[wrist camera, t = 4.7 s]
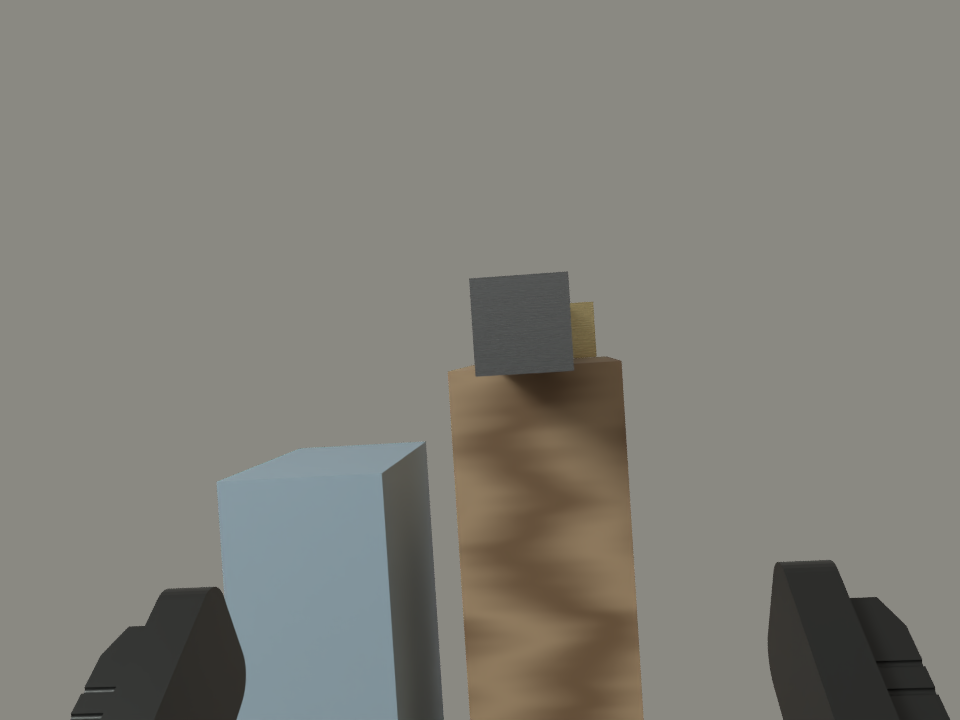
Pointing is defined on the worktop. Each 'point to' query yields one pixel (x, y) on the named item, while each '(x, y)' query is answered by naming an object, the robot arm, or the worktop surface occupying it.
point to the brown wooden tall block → (546, 544)
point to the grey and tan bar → (528, 325)
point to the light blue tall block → (334, 584)
